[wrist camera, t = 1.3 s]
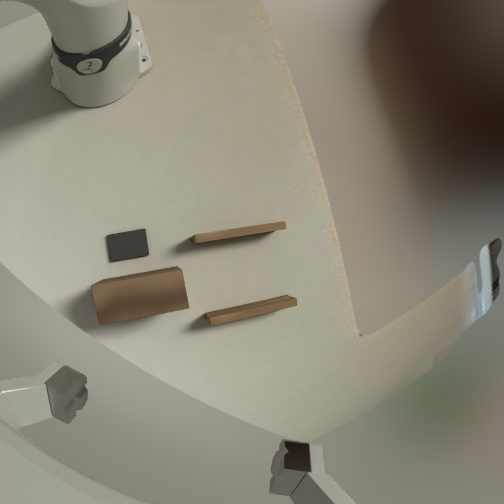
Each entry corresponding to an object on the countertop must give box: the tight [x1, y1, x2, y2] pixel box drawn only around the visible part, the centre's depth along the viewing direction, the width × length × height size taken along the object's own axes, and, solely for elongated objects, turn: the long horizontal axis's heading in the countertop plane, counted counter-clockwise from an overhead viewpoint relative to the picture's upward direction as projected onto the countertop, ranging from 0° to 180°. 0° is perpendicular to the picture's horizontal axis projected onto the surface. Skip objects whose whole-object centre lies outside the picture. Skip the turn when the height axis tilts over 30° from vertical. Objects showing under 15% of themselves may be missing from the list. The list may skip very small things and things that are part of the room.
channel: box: [192, 221, 297, 326], centre depth 48 cm, size 13×14×4 cm
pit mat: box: [108, 229, 149, 261], centre depth 44 cm, size 4×6×1 cm, turn 99°
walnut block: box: [91, 267, 189, 324], centre depth 40 cm, size 5×12×9 cm, turn 99°
